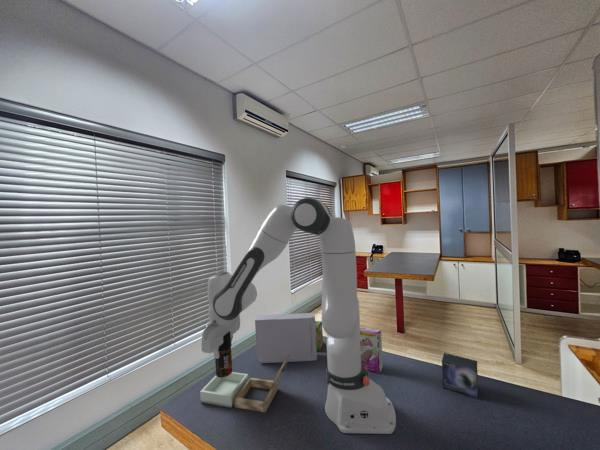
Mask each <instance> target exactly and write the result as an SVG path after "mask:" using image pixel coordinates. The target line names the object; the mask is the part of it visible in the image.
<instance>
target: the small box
mask: <svg viewBox="0 0 600 450" xmlns="http://www.w3.org/2000/svg"><path fill="white" fill-rule="evenodd" d="M441 368H442V370H441V371H442V373H441V374H442V388H443V389H446V390H448V391H451V392H455V393H458V394H461V395H463V396H466V397H469V398H473V399H475V400H478V398H479V382H478V381H479V380H478V379H479V378H478V360H475V359H470V358H467V357H462V356H460V355H459V356H458V355H454V354H450V353H447V352H443V355H442V359H441Z"/></svg>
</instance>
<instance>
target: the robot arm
mask: <svg viewBox="0 0 600 450" xmlns="http://www.w3.org/2000/svg"><path fill="white" fill-rule="evenodd" d="M297 230H300V231H302V232H304V233H309V234H312V235H316V236H319V238H320V243H321V262H322V263H321V265H322V285H321V286H322V287H321V288H322V289H321V322H322V330H324V332H325V333H326V357H327V358H326V361H327V364H326V370H325V371H326V373H325V374H326V383H327V394H326V399H325V400H326V401H325V404H324V411H325V415H326V416H327V417H328V419H329V420H330V421H331V422H333V423H334V424H335V425H336V427H337V428H338V430H339V431H340V432H341V433H343V434H372V435H373V434H375V435H377V434H380V435H382V434H383V435H385V434H386V435H391V434H393V432H394V431H395V430H396V426H397V415H396V411H395V406H394V404H393V402H392V401H391V400H390V398H388V397H387V396H386V394H385V391H384V388H382V386H380V385H379V384H378V383H376V382H375V381H373V380H372V379H371V378H370V377H369V370H367V367H366V368H364V367H362V366H361V350H360V326H361V325H360V323H361V321H360V320H361V319H360V301H359V298H358V282H357V281H358V278H357V277H358V275H357V274H358V271H357V256H356V255H357V253H356V252H357V251H356V242H355V236H354V230H353V226H352V224H351V222H350V221H349V220H348V219H347V218H343V217H340V216H339V217H334V216H331V212H330V209H329V207H328V206H327V205H326V204H325V203H324V202H323V201H321V200H319V199H317V198H313V197H304V198H300V199H299V200H297V201H296V202H295V203H294V204H293V206H292V207H291V206H290V205H288V204H287V205H286V204H277V205H275V206H274V207H273V208H272V210H271V211H270V212H269V213H268V215H267V216H266V218H265V220H264V221H263V222H262V224H261V226H260V227H259V229H258V232H257V234H256V235H255V237H254V238H253V241H252V243H251V244H250V247H249V249H248V250H247V252H246V254H245V255H244V257H243V258H242V260H241V261H240V263H239V264H238V266H237V268H236V270H235V271H234V273H232V274H231V273H230V272H228V271H224V272H219V273H215V274H213V275H211V276H210V277H209V278H208V282H207V300H208V302H209V303H208V322H209V324H207V325H206V326H205V328H204V330H203V331H202V335H201V352H202V353H204V354H213V356H214V359H215V358H216V359H218V358H219V357H220V356H221V352H219V351H218V349H219V346H220V345H221V344H223V336H224V335H225V334H227V333H228V332H229V331H230V336H231V347H232V342H233V338H234V334H235V333H237V331H239V330H240V327H241V313H242V312H243V311H245V310H246V309H248V308H249V307H250V306H251V305H252V304H253V303H254V302H255V301H256V299H257V297H258V292H257V288H256V286H255V285H254V284H253V281H254V279H255V277H256V276H257V274H258V273H259V272H260V271H261V270H262V269H263V268H265V267H266V266H267V265H269V264H270V263H271V262H273V261H274V260H276V259H277V258H278V257H279V256H281V254H282V253H283V251H284V250H285V248H286V247H287V245H288V243H289V241H291V238H292V236H293V234H294V233H295V232H296V231H297Z"/></svg>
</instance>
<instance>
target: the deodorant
mask: <svg viewBox="0 0 600 450" xmlns="http://www.w3.org/2000/svg"><path fill="white" fill-rule="evenodd" d="M231 343H232V342H231V336H230V331H229V332H228V333H227V334H225V335H224V336H223V344H221V345H220V346H219V349H218V351H219V352H221V356H220V357H219V358H218V359H216V358H214V360H215V361H214V362H215V363H214V364H215V376H217V377H221V378H222V377H226V376H229V375H230V374H231V373H232V372H233V359H232V357H233V356H232V346H231Z"/></svg>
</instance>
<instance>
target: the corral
mask: <svg viewBox="0 0 600 450" xmlns="http://www.w3.org/2000/svg"><path fill="white" fill-rule="evenodd" d="M273 382H274V380H270V379H264V378H263V379H262V378H256V377H255V378H254V377H248V381H247V382H246V384H245V385H244V386H243V388H242V389H241V390H240V392H239V393H238V394H237V396H236V397H235V398H234V402H235V404H234V408H236V409H243V410H249V411H255V412H261V413H267V410H268V408H269V407H270V405H271V403H272V401H273V399H274V398H275V396H276V394H277V392H278V390H279V386H278V385H279V383H278V384H277V386H276V387H275V389H274V391H273V393H272V395H271V397H270V398H269V400H268V402H267V404H266V403H265V402H266V399H267V397H268V394H269V392H268V393H267V395H266V396H265V398H264V401H262V400H256V399H250V398H245V397H246V395H247V393H248V392H249V391H250V389H251V388H257V389H264V390H270V389H271V387H272V385H273Z"/></svg>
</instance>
